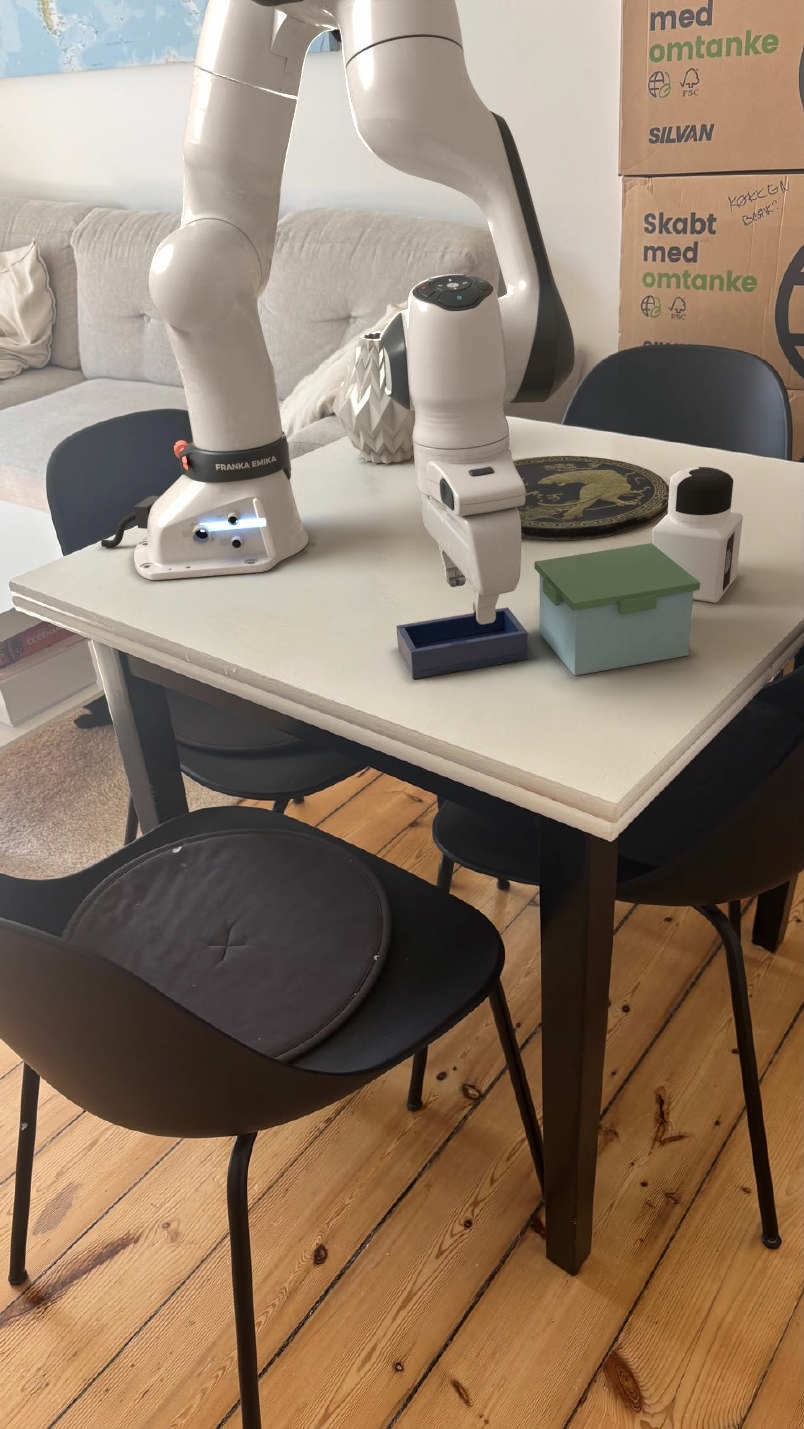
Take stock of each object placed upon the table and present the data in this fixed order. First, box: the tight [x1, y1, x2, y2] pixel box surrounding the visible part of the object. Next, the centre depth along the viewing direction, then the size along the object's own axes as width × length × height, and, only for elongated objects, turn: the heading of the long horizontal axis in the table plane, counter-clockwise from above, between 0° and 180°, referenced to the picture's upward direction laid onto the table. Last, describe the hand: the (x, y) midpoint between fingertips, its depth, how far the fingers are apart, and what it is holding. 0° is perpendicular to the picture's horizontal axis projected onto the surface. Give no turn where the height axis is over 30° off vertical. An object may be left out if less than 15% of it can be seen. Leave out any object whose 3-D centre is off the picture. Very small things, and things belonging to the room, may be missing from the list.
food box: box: [533, 542, 700, 676], centre depth 106 cm, size 14×12×8 cm
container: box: [651, 466, 744, 604], centre depth 115 cm, size 8×8×13 cm
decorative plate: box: [513, 455, 669, 541], centre depth 144 cm, size 30×2×30 cm
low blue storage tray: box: [395, 606, 529, 680], centre depth 107 cm, size 12×6×3 cm, turn 103°
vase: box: [331, 330, 415, 465], centre depth 162 cm, size 16×16×18 cm
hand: (469, 601), depth 105 cm, fingers open, 8 cm apart
